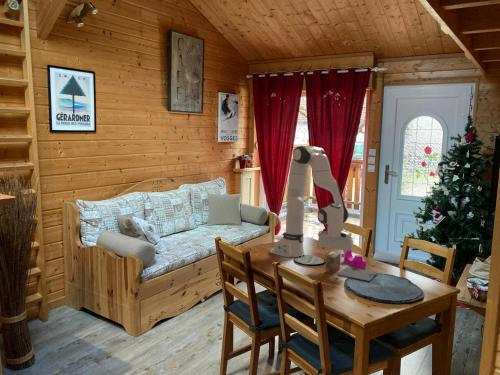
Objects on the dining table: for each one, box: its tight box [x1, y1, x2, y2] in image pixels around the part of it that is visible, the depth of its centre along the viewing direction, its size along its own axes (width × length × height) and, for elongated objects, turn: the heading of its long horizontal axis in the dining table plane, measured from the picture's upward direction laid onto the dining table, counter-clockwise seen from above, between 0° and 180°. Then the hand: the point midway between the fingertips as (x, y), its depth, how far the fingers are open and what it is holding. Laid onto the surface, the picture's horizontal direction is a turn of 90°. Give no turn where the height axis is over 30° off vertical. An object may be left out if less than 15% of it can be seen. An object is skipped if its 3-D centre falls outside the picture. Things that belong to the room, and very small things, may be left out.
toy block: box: [343, 249, 367, 270], centre depth 249 cm, size 15×6×8 cm, turn 16°
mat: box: [336, 266, 379, 282], centre depth 231 cm, size 18×16×1 cm
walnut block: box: [325, 250, 342, 275], centre depth 236 cm, size 5×9×10 cm, turn 147°
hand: (335, 256), depth 235 cm, fingers open, 8 cm apart
